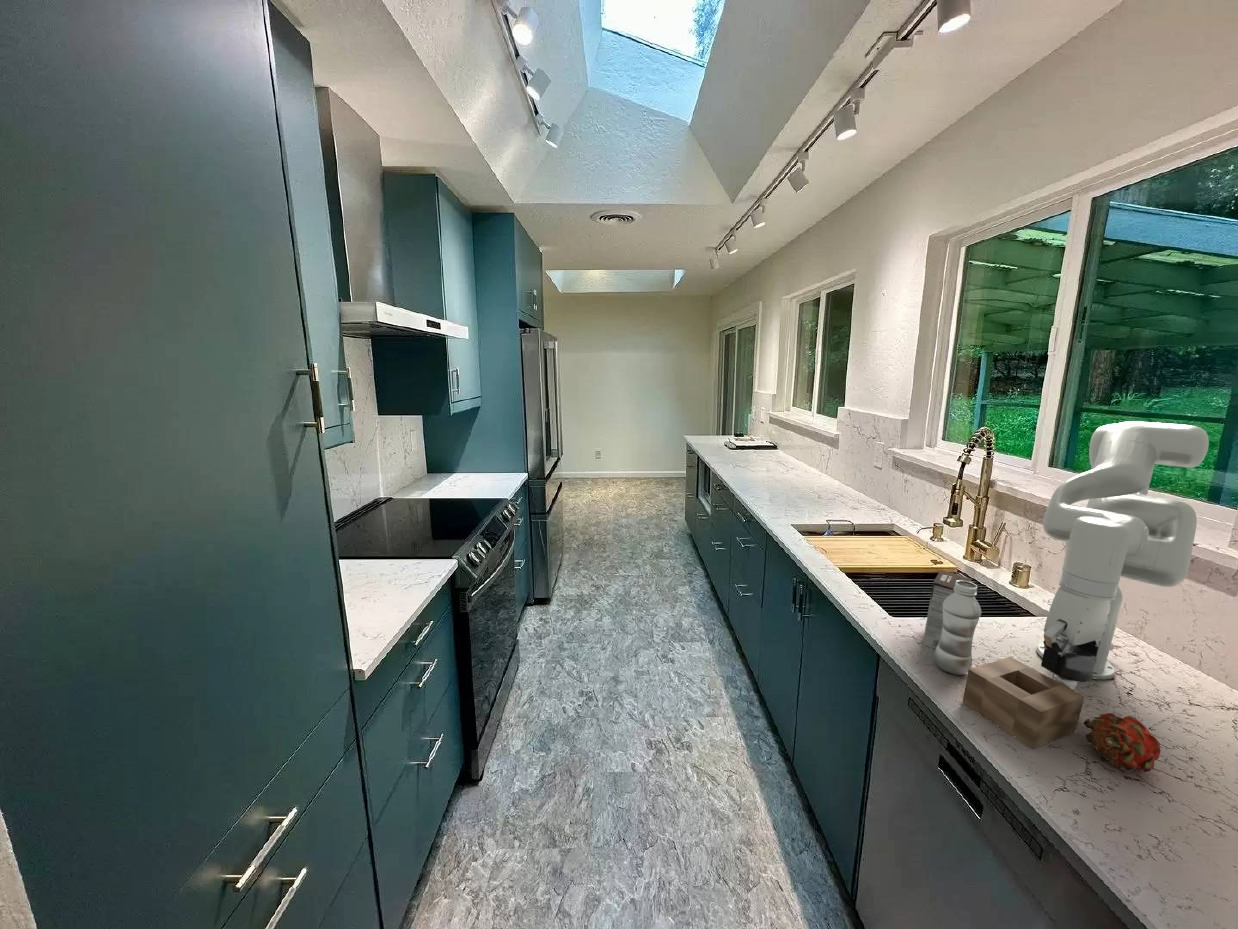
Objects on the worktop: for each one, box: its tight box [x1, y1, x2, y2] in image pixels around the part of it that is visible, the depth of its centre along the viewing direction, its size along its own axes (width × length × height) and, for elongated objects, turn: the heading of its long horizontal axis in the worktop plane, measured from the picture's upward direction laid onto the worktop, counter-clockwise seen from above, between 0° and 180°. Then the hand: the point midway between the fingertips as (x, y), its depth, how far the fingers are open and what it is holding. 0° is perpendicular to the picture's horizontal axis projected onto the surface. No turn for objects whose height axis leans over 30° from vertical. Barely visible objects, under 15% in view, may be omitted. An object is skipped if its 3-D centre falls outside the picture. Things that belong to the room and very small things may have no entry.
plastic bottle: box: [933, 580, 982, 676], centre depth 100 cm, size 6×7×20 cm
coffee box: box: [922, 570, 973, 650], centre depth 110 cm, size 9×6×16 cm
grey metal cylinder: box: [1050, 641, 1097, 691], centre depth 91 cm, size 7×7×11 cm
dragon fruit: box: [1082, 712, 1162, 773], centre depth 78 cm, size 8×8×12 cm
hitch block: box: [961, 656, 1085, 750], centre depth 88 cm, size 12×12×7 cm
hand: (1067, 665), depth 91 cm, fingers open, 9 cm apart
